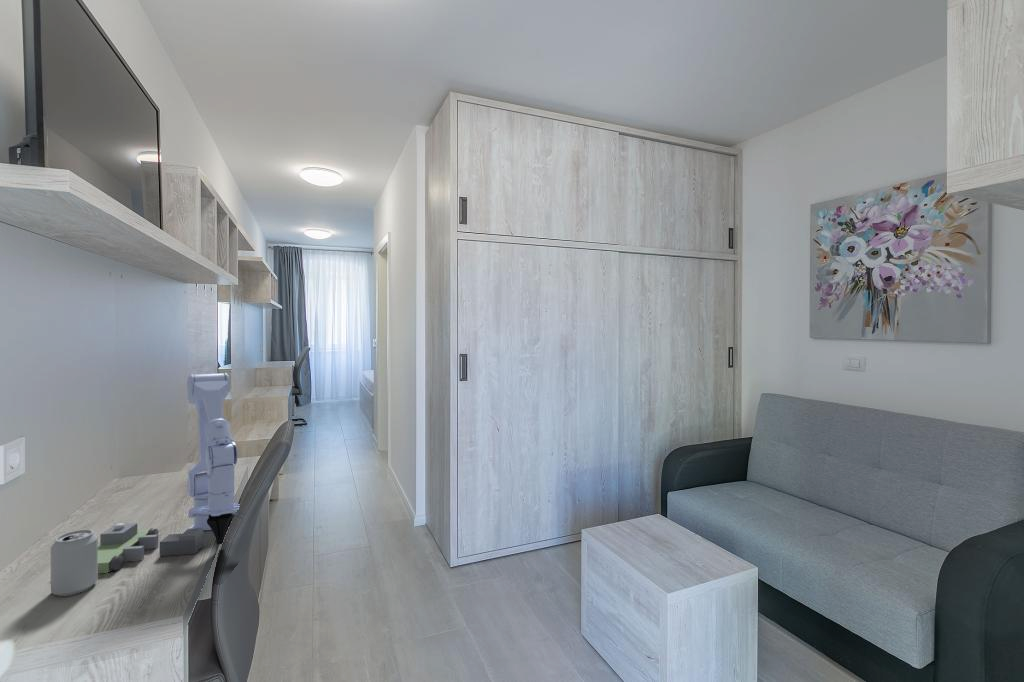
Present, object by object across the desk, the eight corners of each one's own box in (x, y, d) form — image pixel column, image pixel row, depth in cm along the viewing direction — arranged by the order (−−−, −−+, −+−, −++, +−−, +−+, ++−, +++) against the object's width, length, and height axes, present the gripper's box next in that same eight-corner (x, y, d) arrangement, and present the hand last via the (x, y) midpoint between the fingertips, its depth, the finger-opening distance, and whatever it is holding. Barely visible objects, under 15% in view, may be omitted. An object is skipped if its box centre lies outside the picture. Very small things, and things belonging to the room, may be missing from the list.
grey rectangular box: (168, 548, 121) (168, 530, 120) (203, 545, 122) (203, 528, 122) (159, 556, 116) (159, 537, 116) (195, 553, 118) (195, 535, 118)
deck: (108, 541, 124) (108, 518, 124) (169, 537, 127) (169, 514, 127) (55, 577, 106) (55, 550, 106) (127, 571, 109) (127, 545, 109)
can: (62, 582, 104) (62, 529, 104) (104, 577, 107) (104, 525, 106) (42, 601, 97) (42, 544, 97) (87, 594, 100) (87, 539, 99)
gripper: (182, 497, 115) (182, 551, 116) (246, 494, 118) (246, 547, 118) (195, 488, 122) (195, 539, 123) (256, 485, 125) (255, 535, 125)
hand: (221, 542), depth 121 cm, fingers closed
